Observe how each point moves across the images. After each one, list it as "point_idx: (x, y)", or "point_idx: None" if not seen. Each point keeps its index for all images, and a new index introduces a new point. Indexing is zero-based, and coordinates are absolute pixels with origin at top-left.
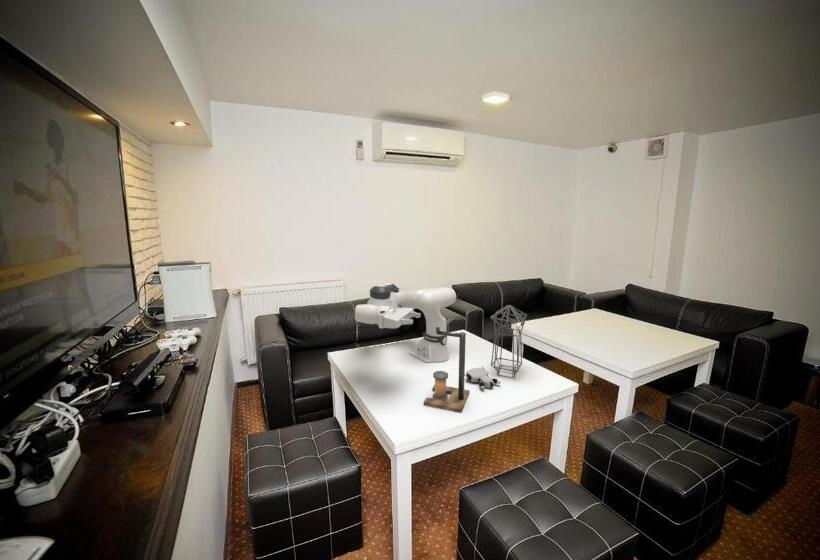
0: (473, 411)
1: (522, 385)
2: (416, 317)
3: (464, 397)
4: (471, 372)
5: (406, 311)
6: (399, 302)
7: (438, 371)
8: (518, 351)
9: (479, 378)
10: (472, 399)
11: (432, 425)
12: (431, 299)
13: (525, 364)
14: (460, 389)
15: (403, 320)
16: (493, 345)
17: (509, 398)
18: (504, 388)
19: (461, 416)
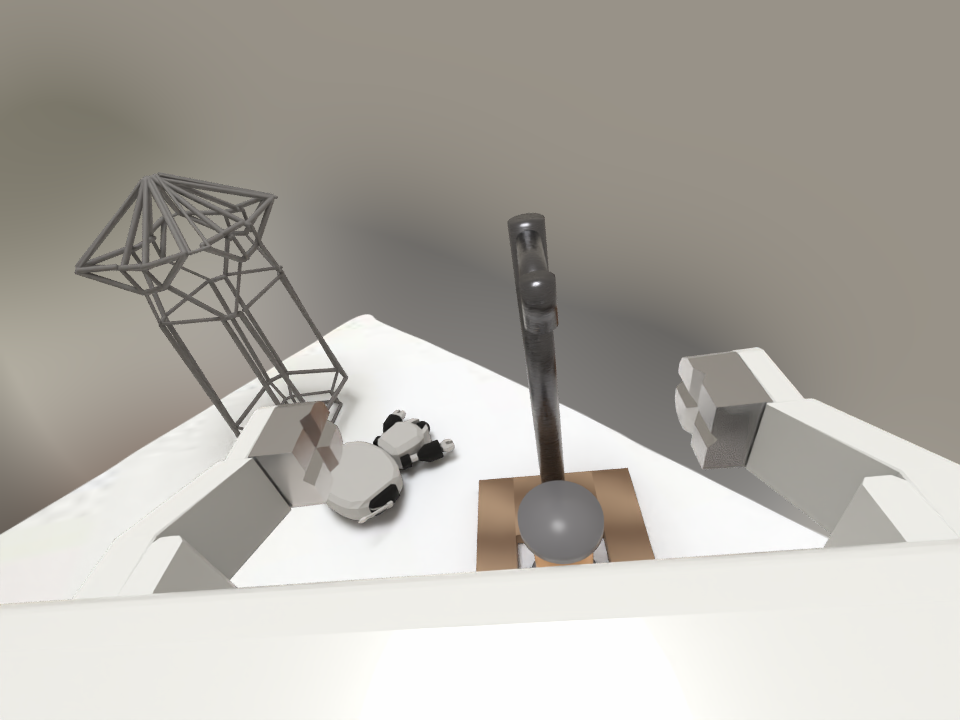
0: (594, 448)
1: (385, 379)
2: (328, 486)
3: (540, 481)
4: (363, 486)
5: (185, 683)
6: None
7: (532, 537)
8: (253, 352)
9: (394, 460)
10: (519, 469)
11: (785, 543)
12: None
13: (245, 394)
14: (562, 460)
15: (947, 475)
16: (258, 370)
17: (470, 390)
18: (413, 409)
19: (647, 471)
